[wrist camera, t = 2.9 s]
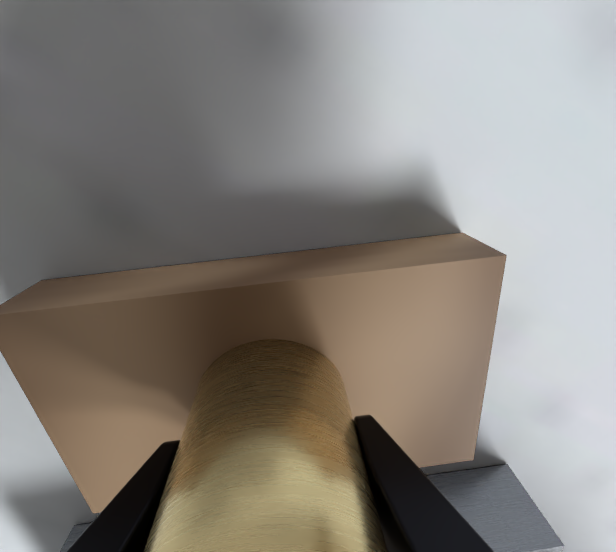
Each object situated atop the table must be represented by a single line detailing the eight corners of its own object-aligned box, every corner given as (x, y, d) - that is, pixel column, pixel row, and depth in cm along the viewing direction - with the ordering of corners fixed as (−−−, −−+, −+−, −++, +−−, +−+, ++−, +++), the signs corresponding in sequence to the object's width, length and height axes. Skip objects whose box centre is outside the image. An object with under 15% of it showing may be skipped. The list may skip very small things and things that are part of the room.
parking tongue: (462, 232, 9) (506, 255, 8) (444, 411, 12) (473, 460, 10) (41, 279, 9) (-19, 316, 7) (122, 455, 12) (92, 513, 10)
